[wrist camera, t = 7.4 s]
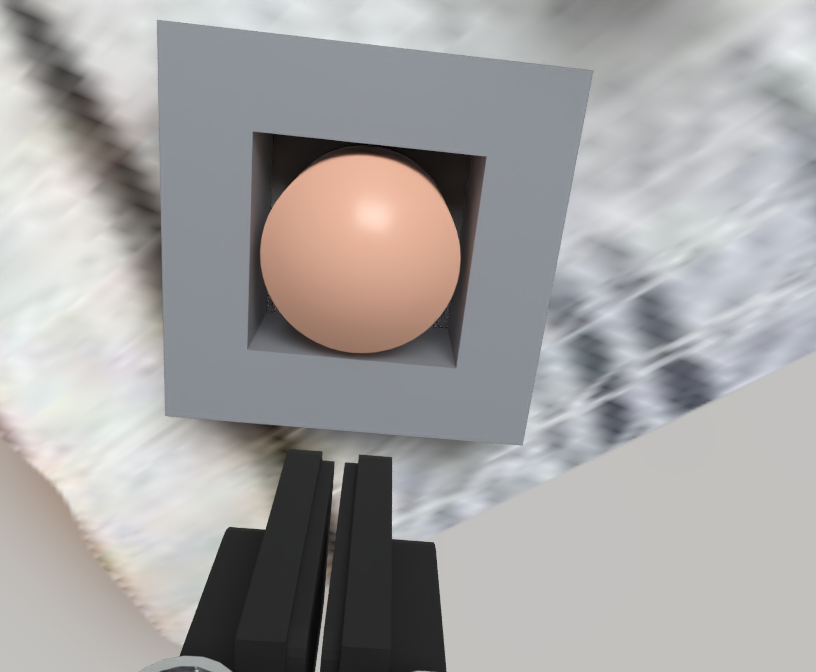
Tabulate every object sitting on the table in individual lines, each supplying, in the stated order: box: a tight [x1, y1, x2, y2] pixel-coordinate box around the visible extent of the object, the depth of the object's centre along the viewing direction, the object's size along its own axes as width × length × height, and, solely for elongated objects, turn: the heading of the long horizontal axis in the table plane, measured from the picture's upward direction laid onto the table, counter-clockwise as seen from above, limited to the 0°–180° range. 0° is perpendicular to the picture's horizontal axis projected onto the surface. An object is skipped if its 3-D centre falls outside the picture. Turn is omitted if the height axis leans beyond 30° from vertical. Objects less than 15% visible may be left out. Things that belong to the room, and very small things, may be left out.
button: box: [260, 145, 461, 353], centre depth 30 cm, size 8×8×5 cm
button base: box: [157, 20, 593, 445], centre depth 30 cm, size 16×16×5 cm
